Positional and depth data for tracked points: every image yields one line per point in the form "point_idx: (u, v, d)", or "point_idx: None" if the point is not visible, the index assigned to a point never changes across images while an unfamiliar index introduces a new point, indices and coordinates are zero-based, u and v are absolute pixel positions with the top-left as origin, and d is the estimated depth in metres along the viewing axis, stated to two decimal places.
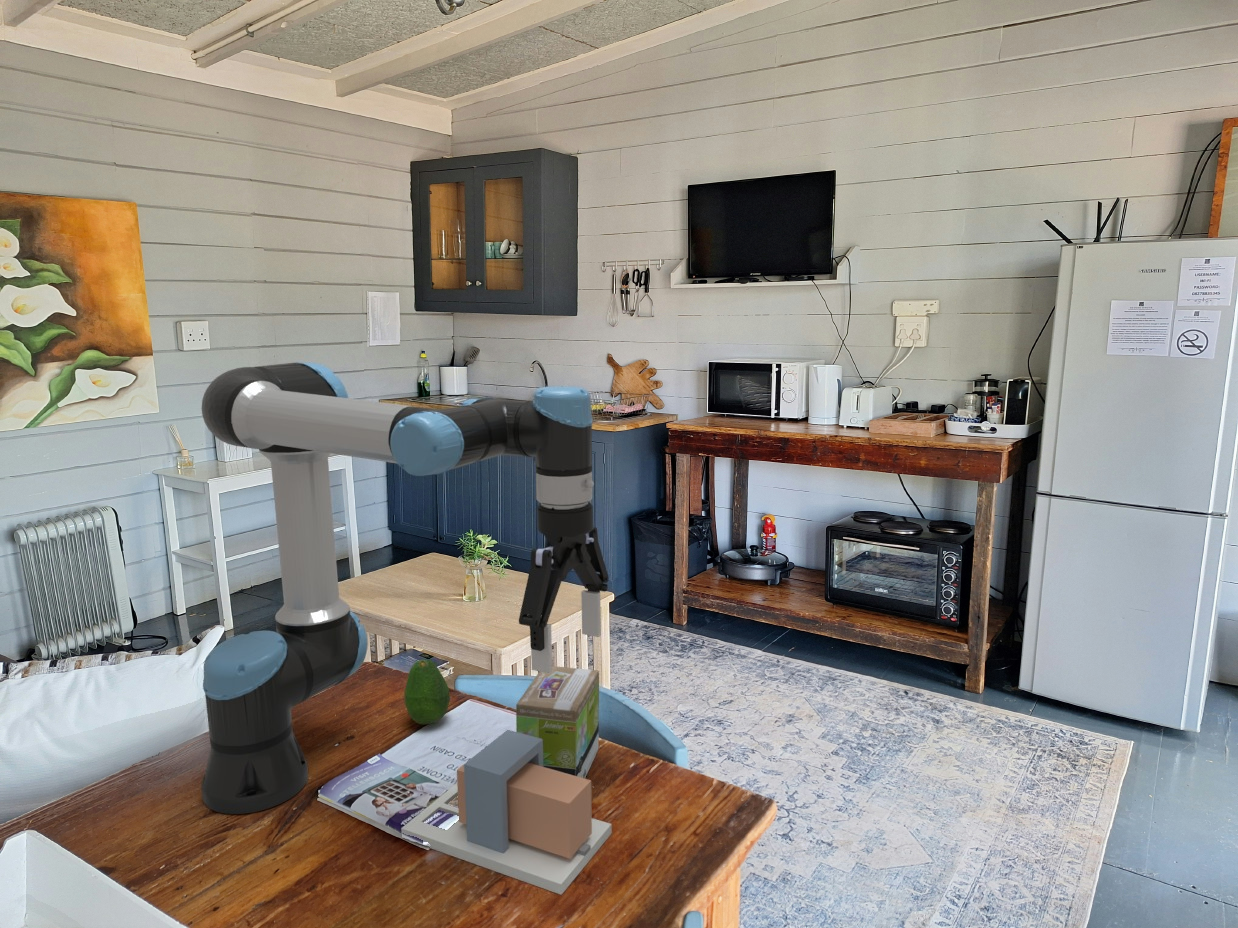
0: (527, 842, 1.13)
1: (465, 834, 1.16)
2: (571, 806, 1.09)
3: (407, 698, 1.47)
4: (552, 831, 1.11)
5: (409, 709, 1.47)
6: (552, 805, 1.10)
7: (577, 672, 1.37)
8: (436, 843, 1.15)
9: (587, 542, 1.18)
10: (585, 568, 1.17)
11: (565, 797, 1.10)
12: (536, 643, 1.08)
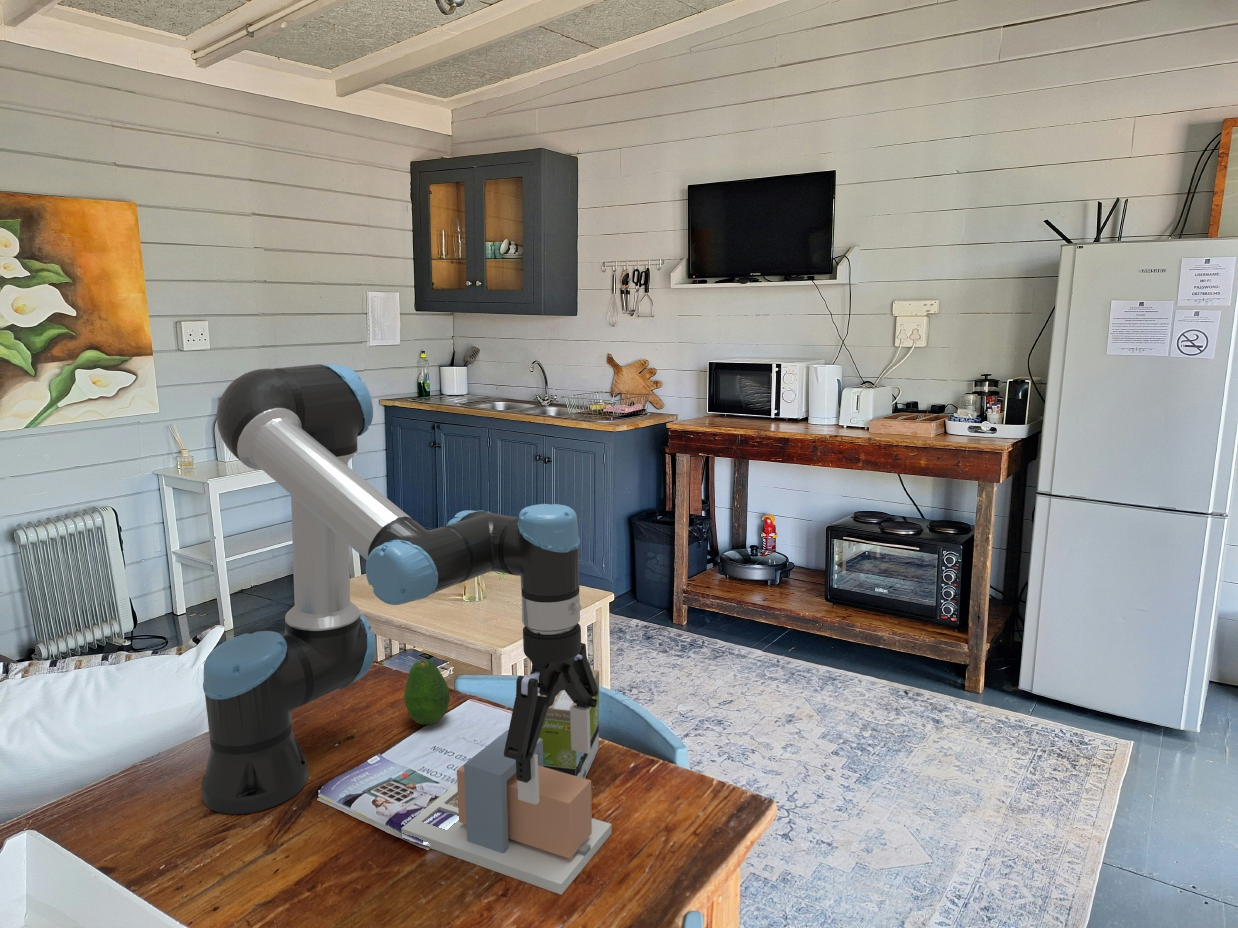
0: (527, 842, 1.13)
1: (465, 834, 1.16)
2: (571, 806, 1.09)
3: (407, 698, 1.47)
4: (552, 831, 1.11)
5: (409, 709, 1.47)
6: (552, 805, 1.10)
7: None
8: (436, 843, 1.15)
9: (575, 659, 1.14)
10: (573, 687, 1.13)
11: (565, 797, 1.10)
12: (522, 775, 1.04)
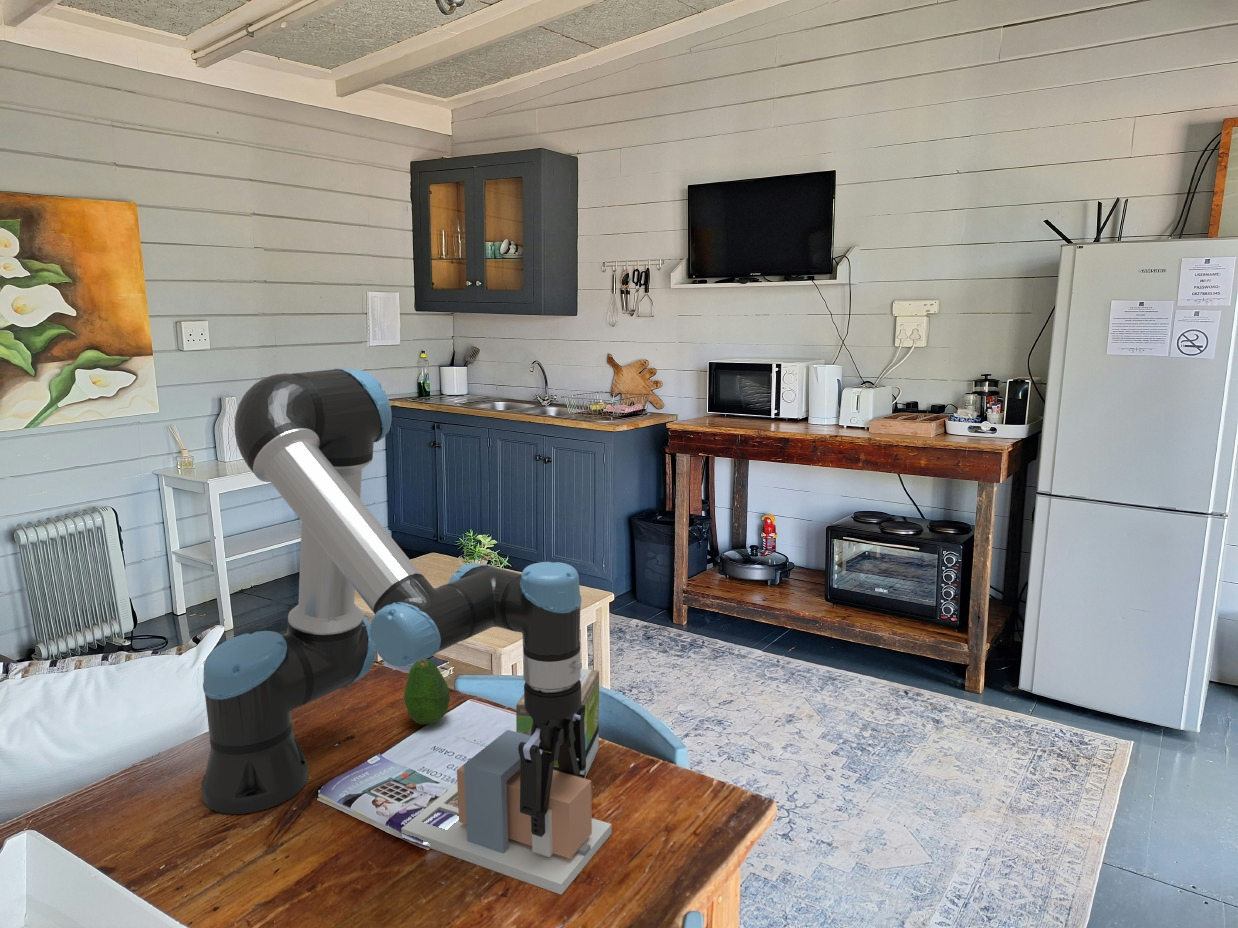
0: (527, 842, 1.13)
1: (465, 834, 1.16)
2: (571, 806, 1.09)
3: (407, 698, 1.47)
4: (552, 831, 1.11)
5: (409, 709, 1.47)
6: (552, 805, 1.10)
7: None
8: (436, 843, 1.15)
9: (573, 719, 1.16)
10: (567, 749, 1.14)
11: (565, 797, 1.10)
12: (537, 829, 1.09)
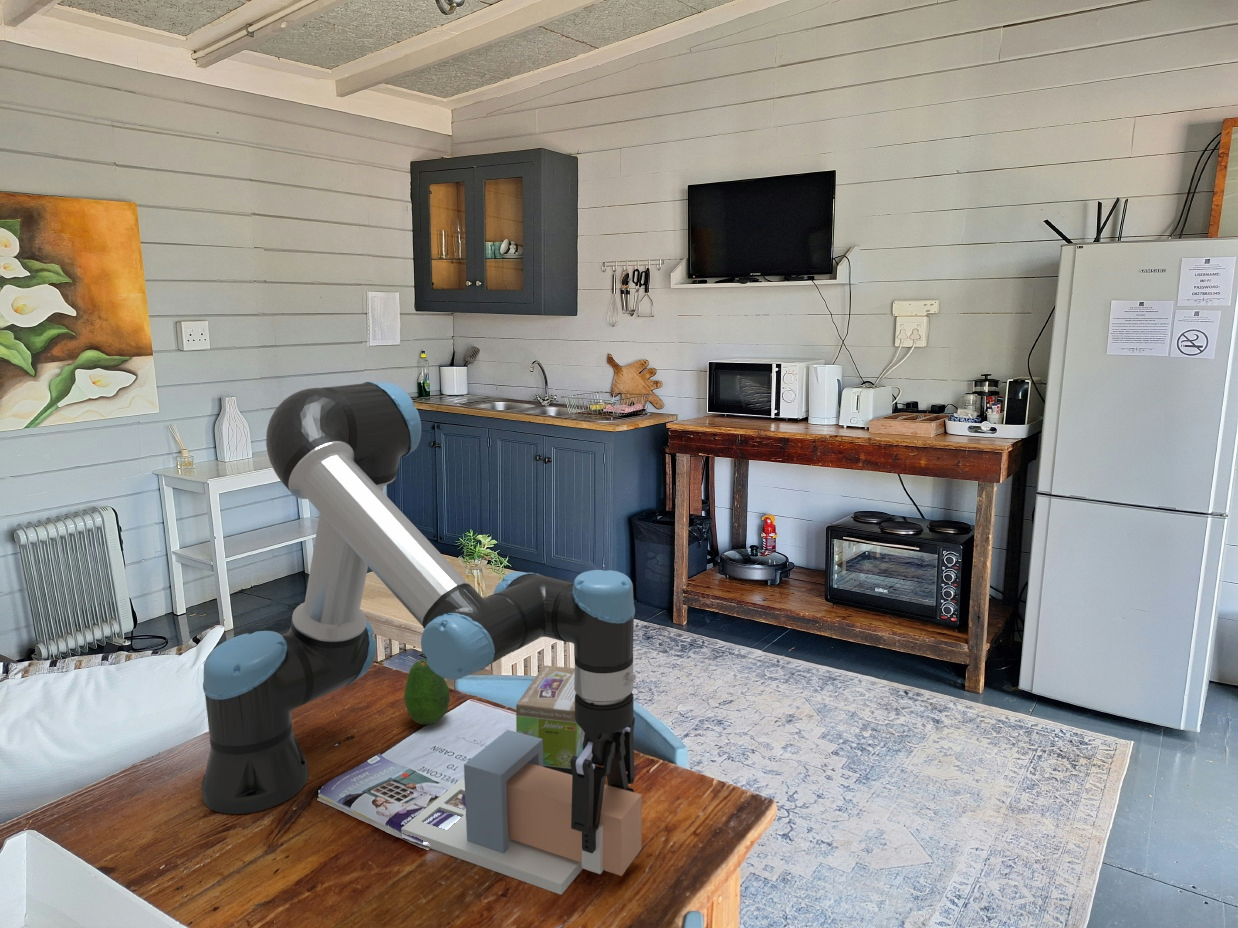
0: (576, 858, 1.10)
1: (465, 834, 1.16)
2: (623, 822, 1.06)
3: (407, 698, 1.47)
4: None
5: (409, 709, 1.47)
6: (603, 821, 1.07)
7: None
8: (436, 843, 1.15)
9: (623, 731, 1.12)
10: (617, 763, 1.10)
11: (616, 813, 1.07)
12: (588, 846, 1.06)
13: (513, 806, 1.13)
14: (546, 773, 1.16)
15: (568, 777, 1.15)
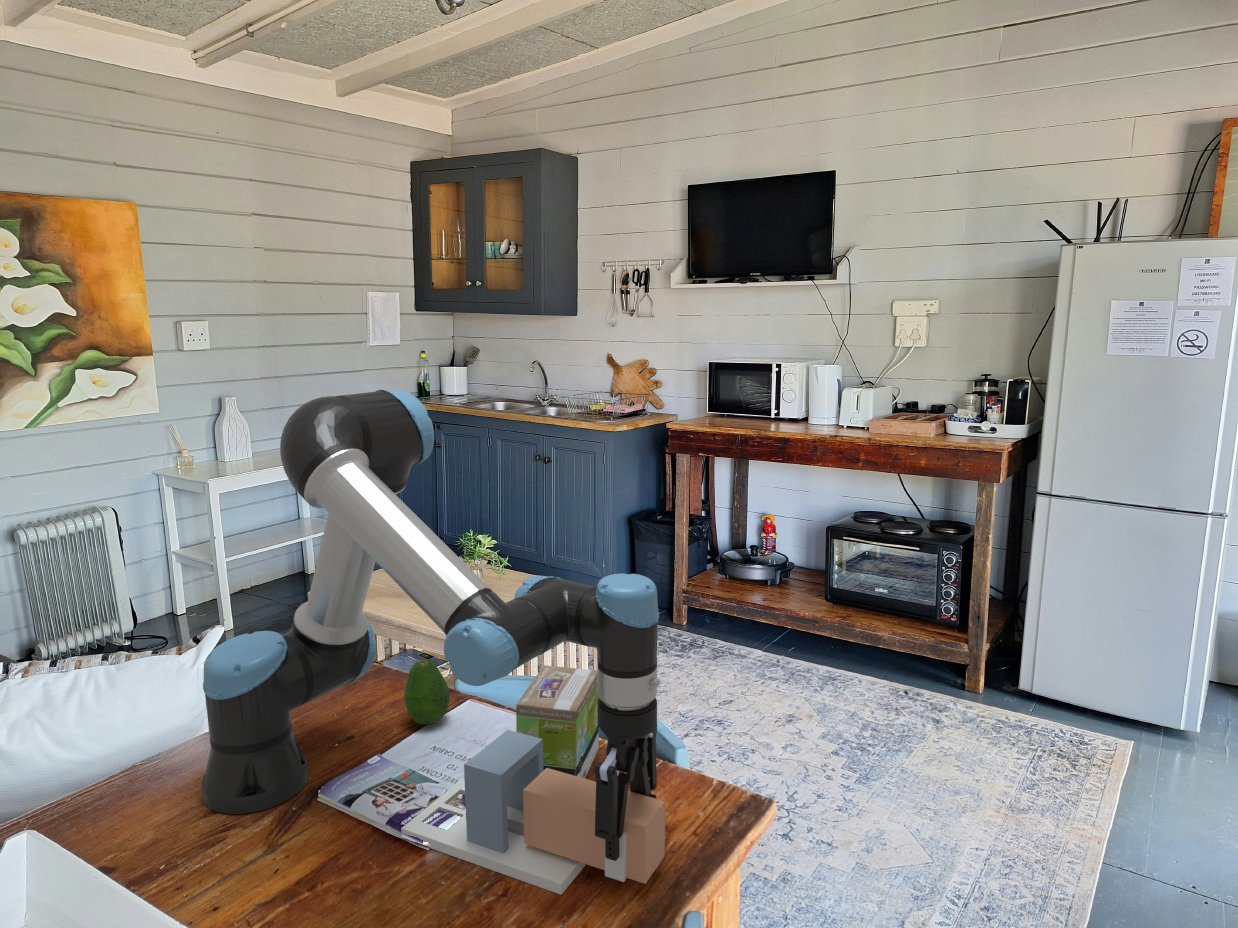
0: (599, 866, 1.08)
1: (465, 834, 1.16)
2: (647, 829, 1.04)
3: (407, 698, 1.47)
4: (626, 855, 1.06)
5: (409, 709, 1.47)
6: (627, 828, 1.05)
7: (577, 672, 1.37)
8: (436, 843, 1.15)
9: (645, 737, 1.11)
10: (640, 769, 1.09)
11: (640, 820, 1.05)
12: (611, 853, 1.05)
13: (534, 812, 1.12)
14: (567, 779, 1.14)
15: (589, 783, 1.13)
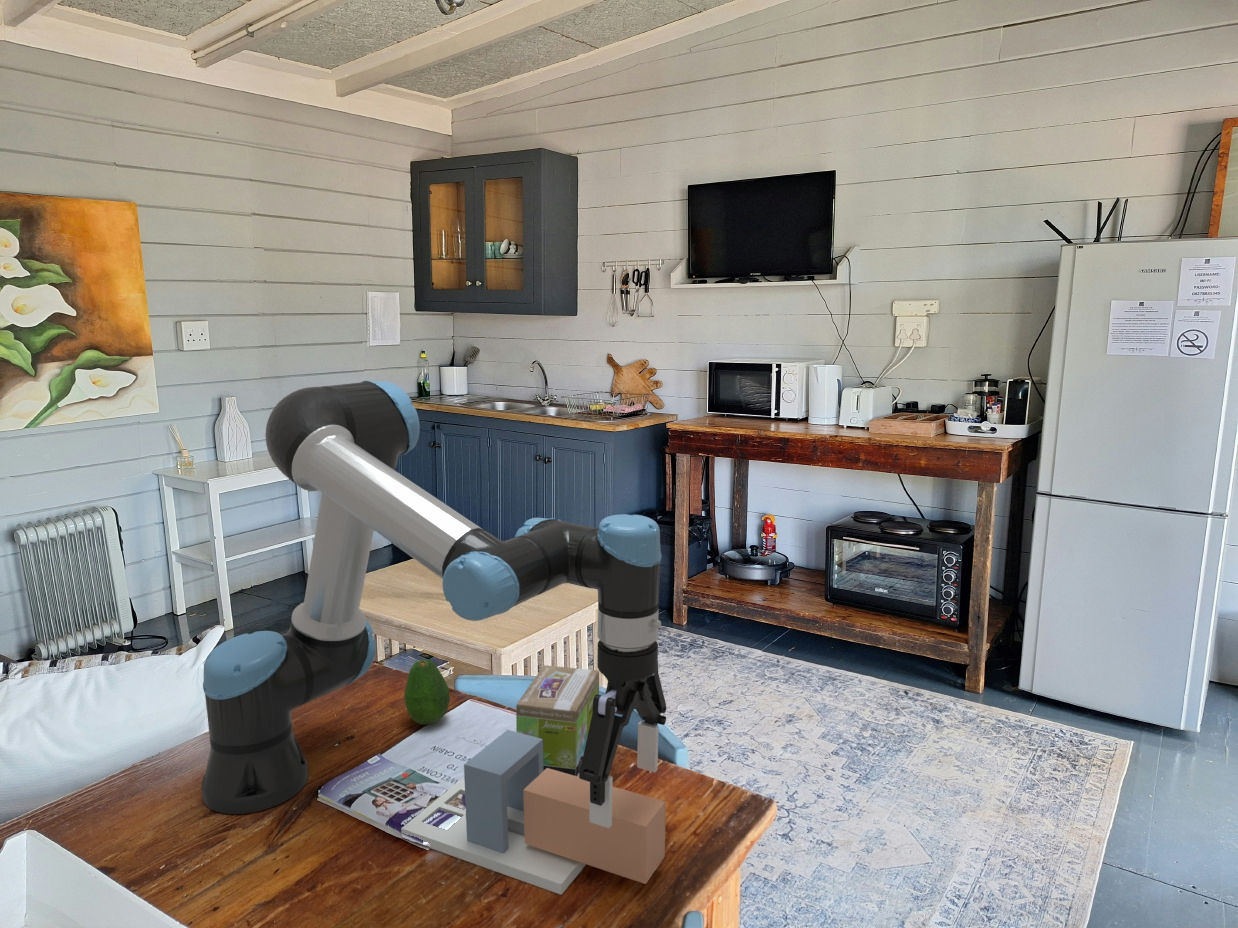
0: (599, 866, 1.08)
1: (465, 834, 1.16)
2: (647, 829, 1.04)
3: (407, 698, 1.47)
4: (626, 855, 1.06)
5: (409, 709, 1.47)
6: (627, 828, 1.05)
7: (577, 672, 1.37)
8: (436, 843, 1.15)
9: None
10: (645, 704, 1.09)
11: (641, 820, 1.05)
12: (596, 797, 1.00)
13: (535, 813, 1.12)
14: (567, 779, 1.14)
15: None
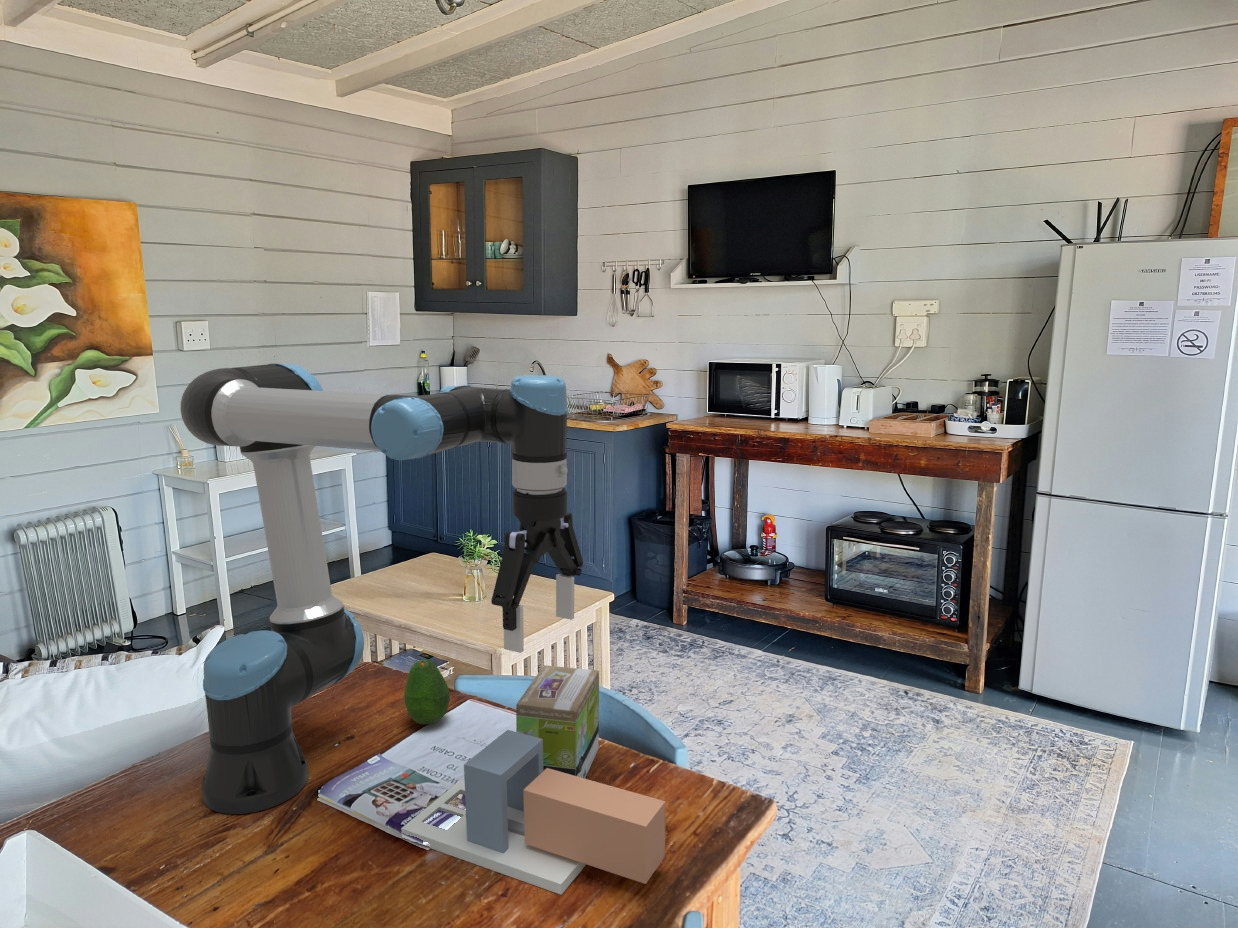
0: (599, 866, 1.08)
1: (465, 834, 1.16)
2: (647, 829, 1.04)
3: (407, 698, 1.47)
4: (626, 855, 1.06)
5: (409, 709, 1.47)
6: (627, 828, 1.05)
7: (577, 672, 1.37)
8: (436, 843, 1.15)
9: (562, 527, 1.22)
10: (559, 552, 1.21)
11: (641, 820, 1.05)
12: (508, 623, 1.12)
13: (535, 813, 1.12)
14: (567, 779, 1.14)
15: (590, 783, 1.13)
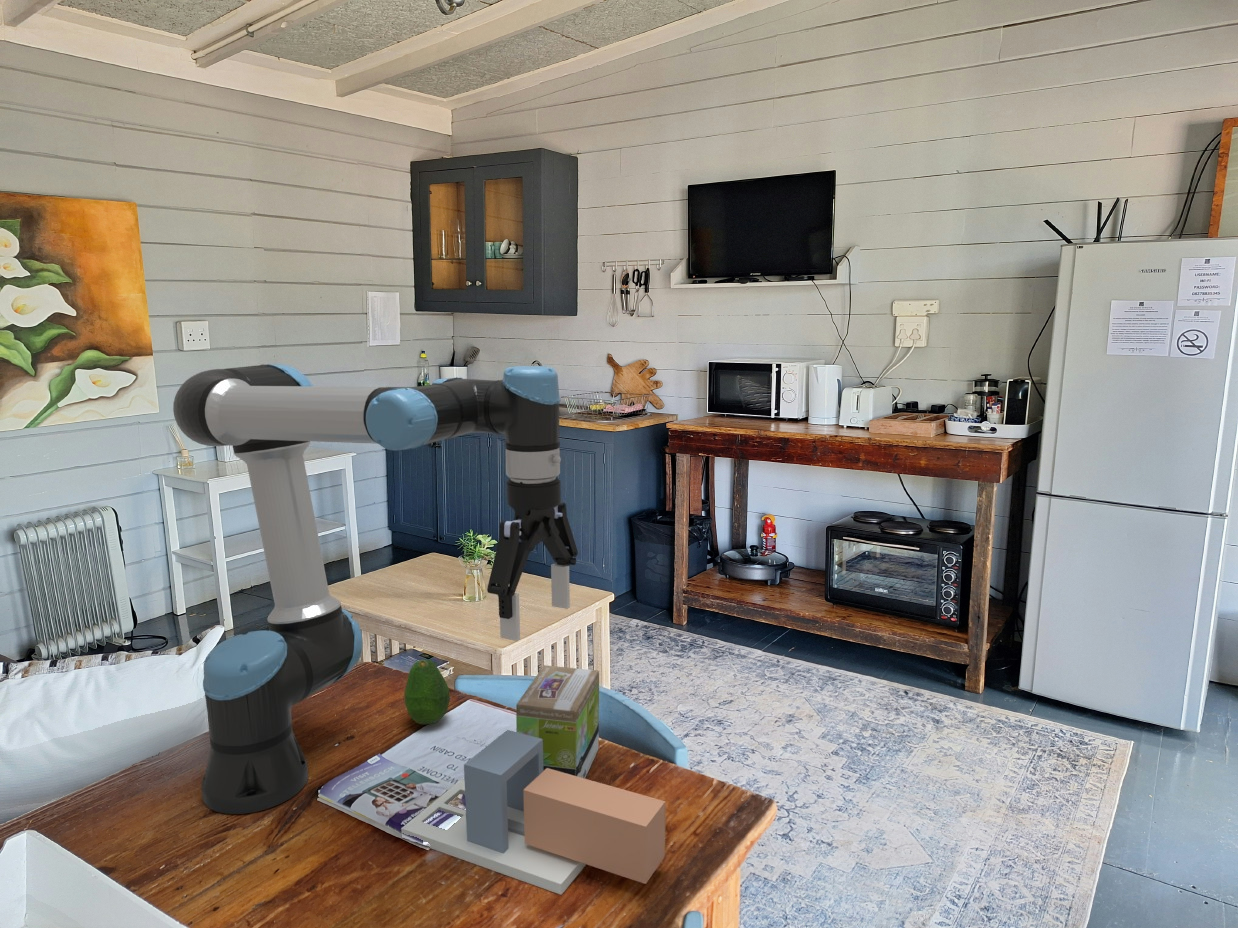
0: (599, 866, 1.08)
1: (465, 834, 1.16)
2: (647, 829, 1.04)
3: (407, 698, 1.47)
4: (626, 855, 1.06)
5: (409, 709, 1.47)
6: (627, 828, 1.05)
7: (577, 672, 1.37)
8: (436, 843, 1.15)
9: (556, 517, 1.23)
10: (554, 542, 1.22)
11: (641, 820, 1.05)
12: (504, 611, 1.13)
13: (535, 813, 1.12)
14: (567, 779, 1.14)
15: (590, 783, 1.13)
